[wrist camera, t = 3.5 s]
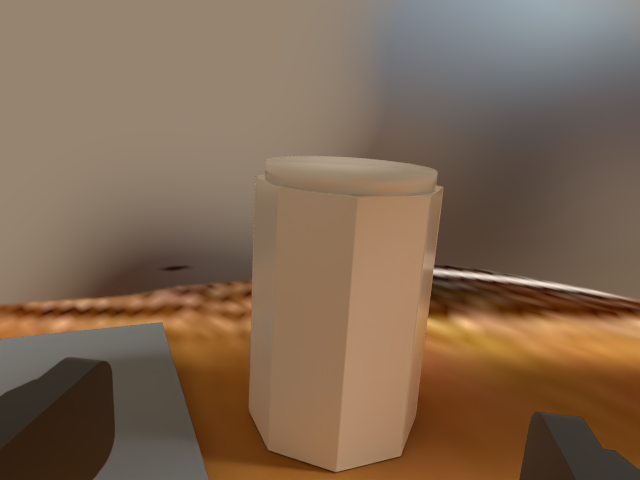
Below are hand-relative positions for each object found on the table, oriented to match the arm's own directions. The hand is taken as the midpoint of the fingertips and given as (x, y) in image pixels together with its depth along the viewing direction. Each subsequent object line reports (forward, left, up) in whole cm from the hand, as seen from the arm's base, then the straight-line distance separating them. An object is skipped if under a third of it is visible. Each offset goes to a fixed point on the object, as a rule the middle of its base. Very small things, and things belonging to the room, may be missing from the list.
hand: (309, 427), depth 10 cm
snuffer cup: (-5, -8, -6) cm, 11 cm away
